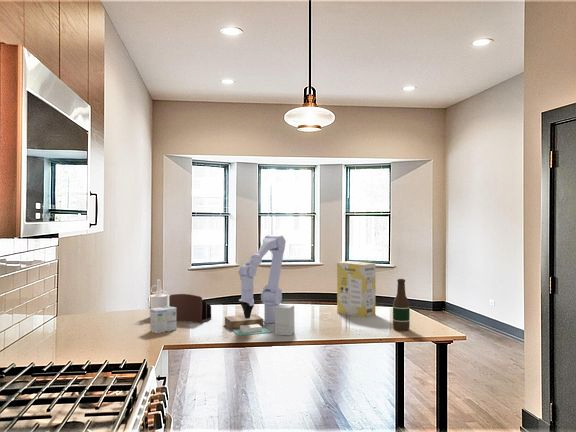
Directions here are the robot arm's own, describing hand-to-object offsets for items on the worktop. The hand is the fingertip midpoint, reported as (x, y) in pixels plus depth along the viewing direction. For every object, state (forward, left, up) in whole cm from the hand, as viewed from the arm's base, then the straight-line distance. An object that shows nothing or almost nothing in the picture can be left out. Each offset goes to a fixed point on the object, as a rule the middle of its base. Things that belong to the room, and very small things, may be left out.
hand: (247, 318), depth 242 cm
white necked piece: (+35, -44, -5) cm, 56 cm away
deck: (0, -6, -5) cm, 8 cm away
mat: (0, +6, -5) cm, 8 cm away
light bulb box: (+38, -11, -5) cm, 40 cm away
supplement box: (-13, +16, -5) cm, 21 cm away
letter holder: (+22, -31, -5) cm, 38 cm away
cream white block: (0, +6, -3) cm, 6 cm away
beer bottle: (-67, +30, -5) cm, 74 cm away
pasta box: (-66, -11, -5) cm, 67 cm away
